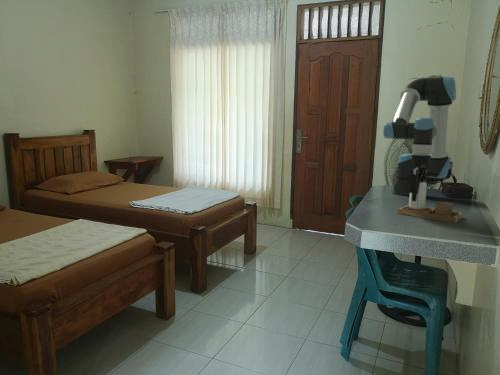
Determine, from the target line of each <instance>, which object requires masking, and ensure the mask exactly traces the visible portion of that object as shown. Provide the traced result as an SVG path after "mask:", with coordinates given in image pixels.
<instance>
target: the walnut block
mask: <svg viewBox="0 0 500 375" xmlns="http://www.w3.org/2000/svg"><path fill="white" fill-rule="evenodd" d="M453 207H454V203H452V202H444V201H437V202H436V203H435V208H434V209H435V214H437V215H444V216H450V217H452V212H453V209H454V208H453Z"/></svg>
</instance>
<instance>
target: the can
mask: <svg viewBox="0 0 500 375" xmlns="http://www.w3.org/2000/svg"><path fill="white" fill-rule="evenodd" d="M427 186H428V185H427V184H426V181H420V185H419V190H418V194H419V197H418V208H417V209H424V208H426V198H427V191H426V190H427ZM411 196H412V193H410V196H409V198H408V205H409V207H411ZM412 209H414V208H412Z"/></svg>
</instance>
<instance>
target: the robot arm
mask: <svg viewBox="0 0 500 375" xmlns="http://www.w3.org/2000/svg"><path fill="white" fill-rule="evenodd" d="M399 99H400V101H399V103H398V105H397V108H396V111H395V113H394V115H393V117H392V120H391V121H390V122H385V123H384V126H383V137H384V138H385V139H391V140H412V141H413V142H412V146H411V149H412V152H411V153H405V154H404V153H403V154H399V155H398V161H397V172H396V180H395V183H394V185H393V188H392V193H393V194H395V195H399V196H405V197H410V193H412V196H411V207H410V208H414V209H417V208H418V197H419V194H418V190H419V185H420V181H426V184H427V182H428V181H427V180H428V178H431V179H433V178H434V179H445V178H446V177H447V176H448V173H449V169H450V164H451V162H452V158H451V157H450V156H449V153H448V152H447V151H446V148H447V135H448V134H447V133H448V120H449V107H450V106H451V105H452V104H453V102H454V101H456V99H457V85H456V79H455V78H454V77H452V76H436V77H420V78H417V79H414V80H412V81H411V82H409V83H408V84H406V86H405V87H404V88H403V89H402V91H401V93H400V97H399ZM419 102H427V103H426V105H427V106H428V107H429V117H417V118H415V120H414V122H410V121H411V119H412V115H413V114H414V111H415V110H414V109H415V107H416V106H417V105H416V104H418V103H419ZM427 191H428V190H427V189H426V192H427Z"/></svg>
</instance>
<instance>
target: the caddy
mask: <svg viewBox="0 0 500 375" xmlns="http://www.w3.org/2000/svg"><path fill="white" fill-rule="evenodd" d="M397 214H400V215H406V216H411V217H417V218H423V219H428V220H429V219H430V220H435V221H441V222H446V223H447V222H448V223H454V224H455V223H456V222H458V221H459V220H461V219H463V216H464V213H463V212H458V211H452V217H450V216H444V215H437V214H435V208H430V207H425V208H424V209H412V208H410V207H409V204H406V205H404V206H402V207H399V208H397Z"/></svg>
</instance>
